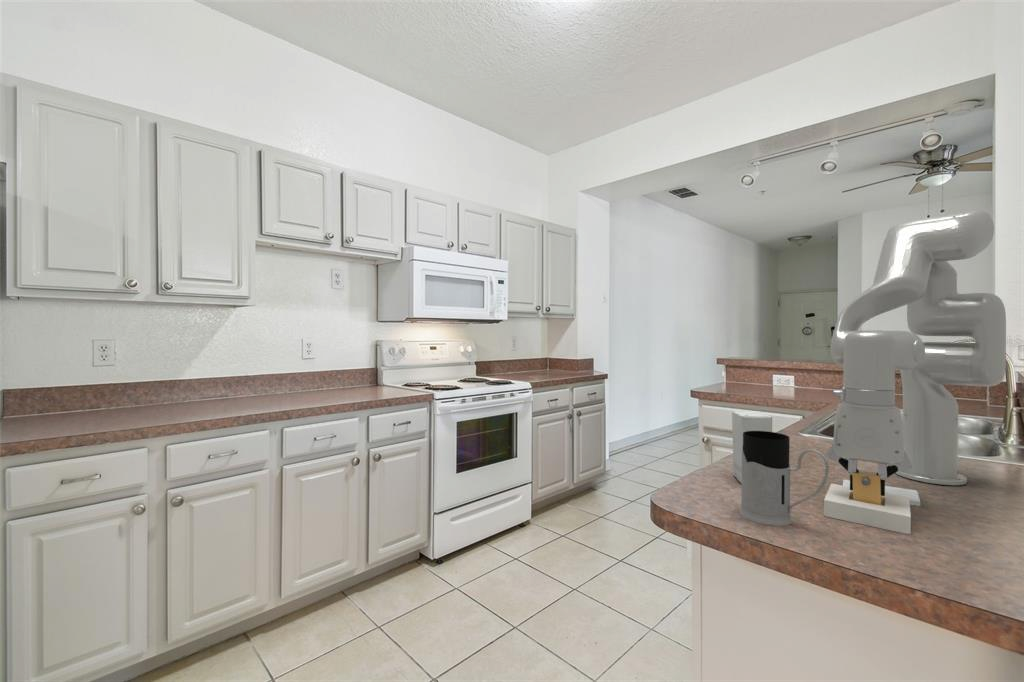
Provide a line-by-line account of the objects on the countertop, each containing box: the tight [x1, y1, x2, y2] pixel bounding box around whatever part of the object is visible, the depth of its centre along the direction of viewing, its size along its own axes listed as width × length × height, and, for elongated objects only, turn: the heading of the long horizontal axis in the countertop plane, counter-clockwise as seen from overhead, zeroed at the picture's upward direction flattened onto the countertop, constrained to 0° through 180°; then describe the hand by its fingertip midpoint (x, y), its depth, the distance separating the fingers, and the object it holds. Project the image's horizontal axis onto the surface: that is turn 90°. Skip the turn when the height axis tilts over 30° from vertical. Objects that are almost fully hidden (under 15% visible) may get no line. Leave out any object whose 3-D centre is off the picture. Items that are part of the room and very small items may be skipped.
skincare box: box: [731, 410, 773, 485], centre depth 103 cm, size 8×7×16 cm
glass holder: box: [738, 431, 830, 527], centre depth 82 cm, size 9×14×15 cm, turn 41°
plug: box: [852, 469, 882, 505], centre depth 84 cm, size 6×4×6 cm
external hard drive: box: [842, 478, 921, 507], centre depth 95 cm, size 2×8×12 cm
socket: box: [823, 482, 912, 535], centre depth 84 cm, size 12×12×3 cm
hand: (867, 496), depth 84 cm, fingers closed on plug, 2 cm apart
